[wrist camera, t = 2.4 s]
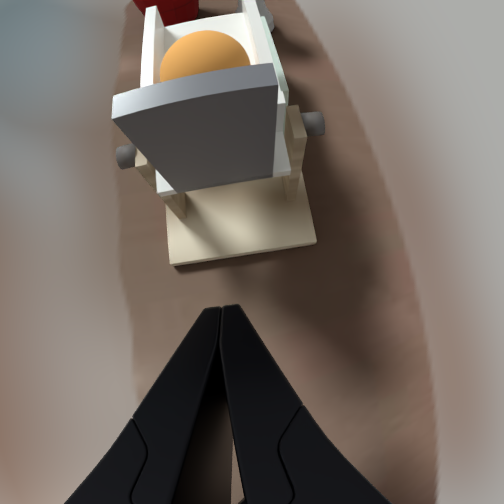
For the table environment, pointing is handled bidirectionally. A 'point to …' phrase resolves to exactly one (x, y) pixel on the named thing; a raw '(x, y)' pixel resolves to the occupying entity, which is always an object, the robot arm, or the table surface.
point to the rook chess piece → (260, 12)
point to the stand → (239, 205)
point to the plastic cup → (171, 10)
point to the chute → (207, 110)
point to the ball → (202, 55)
